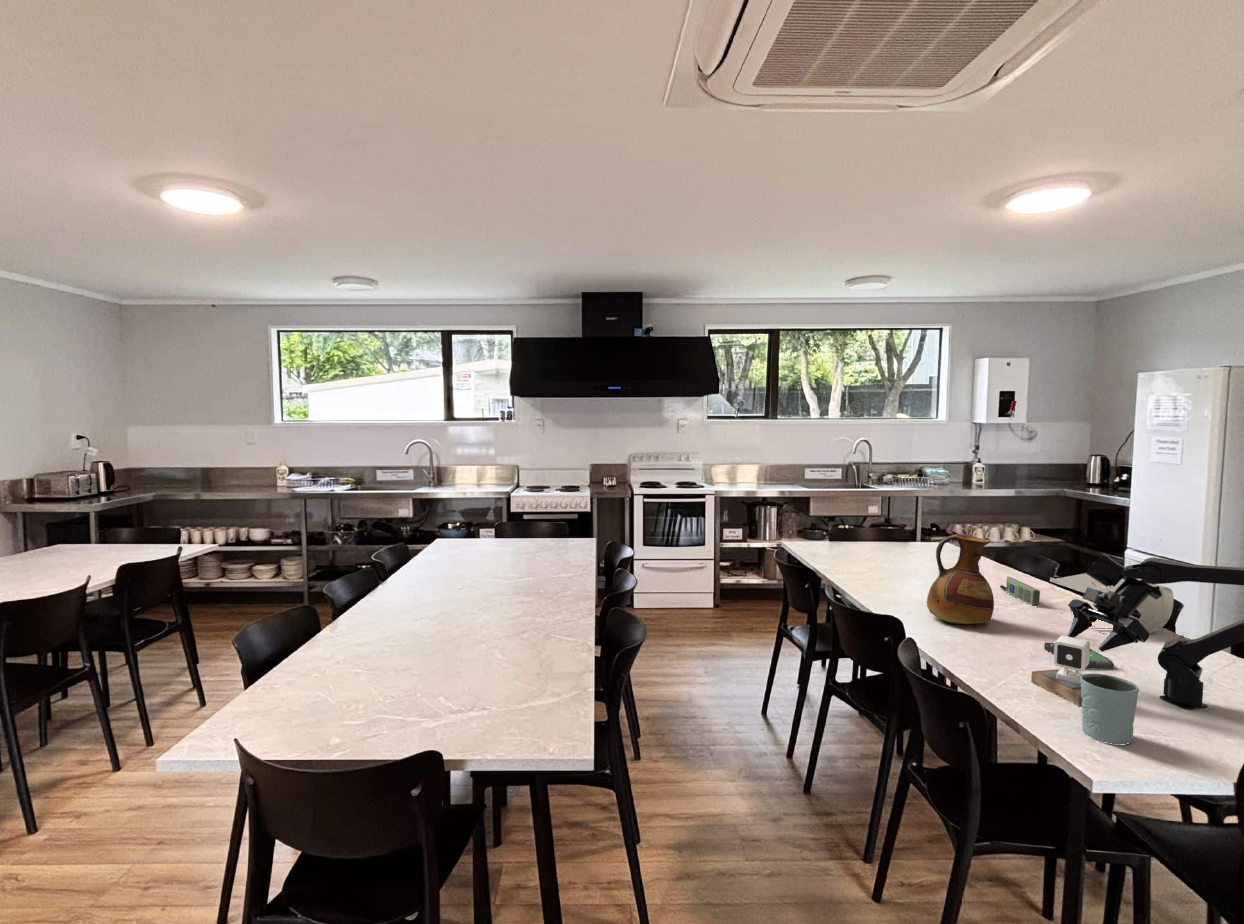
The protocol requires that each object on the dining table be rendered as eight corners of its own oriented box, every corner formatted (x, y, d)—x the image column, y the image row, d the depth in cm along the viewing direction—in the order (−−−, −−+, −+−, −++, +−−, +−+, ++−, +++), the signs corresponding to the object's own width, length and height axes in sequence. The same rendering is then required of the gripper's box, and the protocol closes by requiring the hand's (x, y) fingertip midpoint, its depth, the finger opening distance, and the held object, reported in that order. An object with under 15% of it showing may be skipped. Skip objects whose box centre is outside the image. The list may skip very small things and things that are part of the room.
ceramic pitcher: (999, 633, 203) (1002, 541, 201) (930, 626, 210) (933, 538, 208) (985, 615, 222) (988, 531, 220) (923, 610, 228) (925, 528, 226)
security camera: (1052, 679, 158) (1054, 640, 157) (1059, 671, 163) (1060, 634, 162) (1083, 687, 153) (1085, 647, 153) (1089, 678, 158) (1090, 640, 157)
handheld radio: (1030, 607, 232) (996, 589, 257) (1040, 608, 232) (1005, 589, 256) (1032, 589, 231) (997, 573, 256) (1041, 590, 231) (1006, 573, 256)
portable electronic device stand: (1174, 635, 201) (1177, 587, 200) (1105, 637, 199) (1107, 589, 198) (1108, 611, 226) (1110, 569, 225) (1045, 612, 225) (1047, 570, 224)
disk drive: (1043, 651, 189) (1076, 670, 174) (1043, 642, 188) (1077, 660, 174) (1078, 651, 188) (1115, 670, 173) (1078, 642, 188) (1115, 660, 173)
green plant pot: (1086, 742, 134) (1088, 687, 133) (1071, 721, 143) (1073, 669, 142) (1144, 750, 130) (1147, 694, 129) (1125, 728, 140) (1128, 676, 139)
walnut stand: (1110, 703, 152) (1111, 689, 152) (1078, 706, 151) (1079, 692, 150) (1060, 680, 166) (1061, 667, 166) (1031, 682, 164) (1031, 669, 164)
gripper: (1076, 568, 166) (1036, 611, 166) (1141, 587, 148) (1096, 634, 147) (1101, 597, 168) (1062, 639, 167) (1169, 618, 149) (1125, 665, 149)
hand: (1084, 643), depth 158 cm, fingers open, 9 cm apart
